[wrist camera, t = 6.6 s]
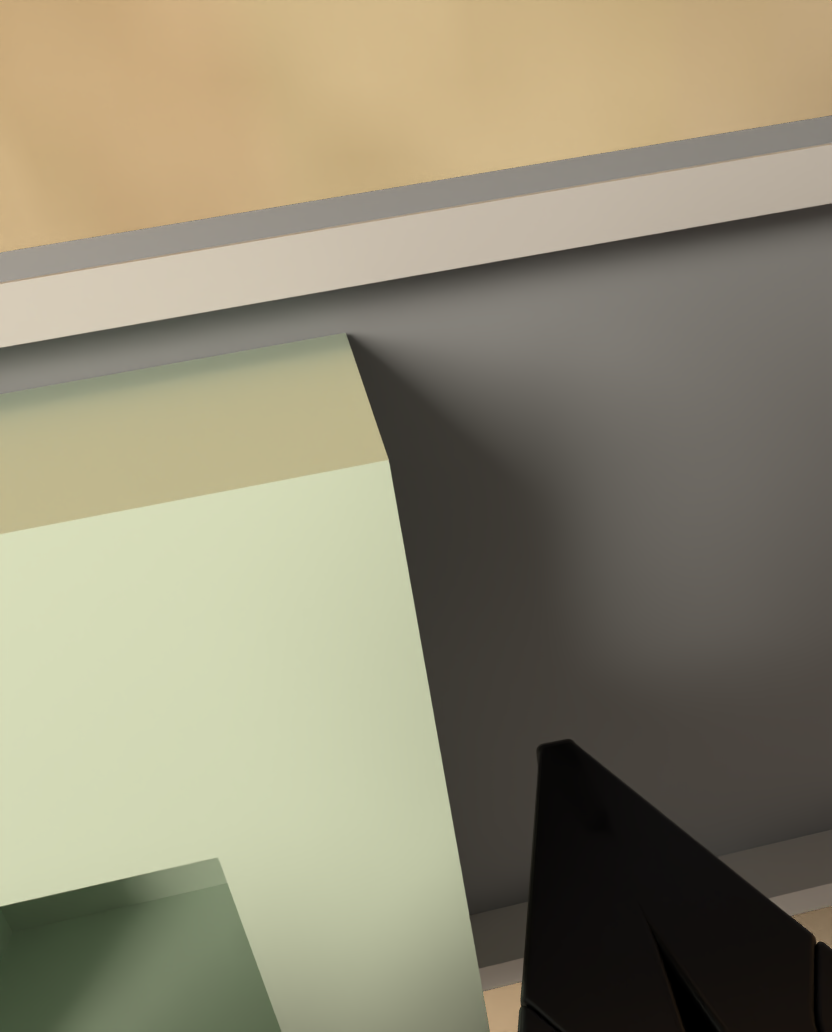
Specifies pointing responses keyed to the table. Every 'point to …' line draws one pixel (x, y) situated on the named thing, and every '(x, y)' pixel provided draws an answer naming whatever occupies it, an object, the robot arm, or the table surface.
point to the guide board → (556, 463)
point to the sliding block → (218, 713)
